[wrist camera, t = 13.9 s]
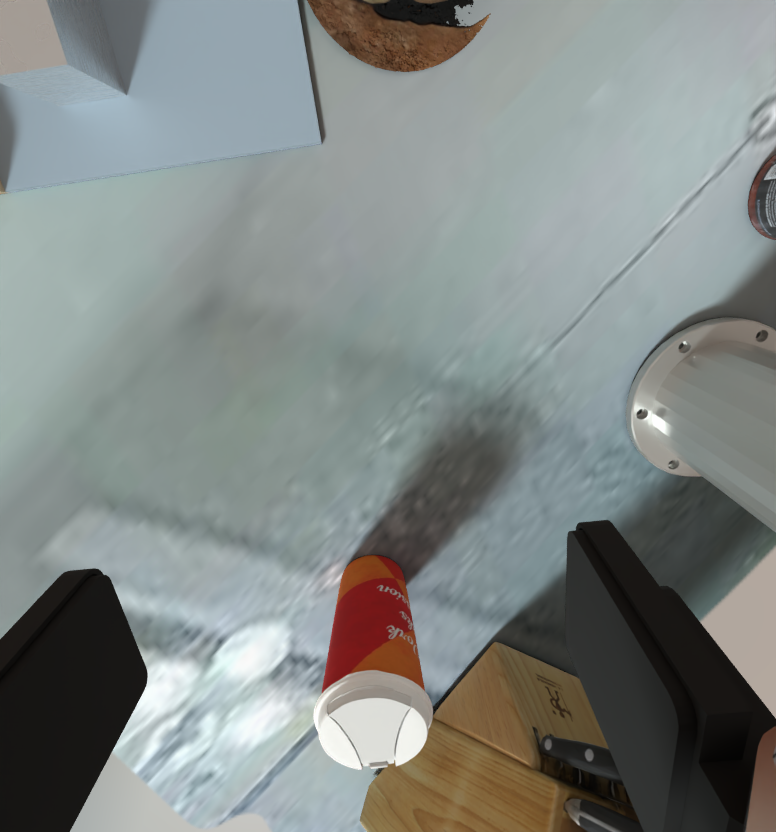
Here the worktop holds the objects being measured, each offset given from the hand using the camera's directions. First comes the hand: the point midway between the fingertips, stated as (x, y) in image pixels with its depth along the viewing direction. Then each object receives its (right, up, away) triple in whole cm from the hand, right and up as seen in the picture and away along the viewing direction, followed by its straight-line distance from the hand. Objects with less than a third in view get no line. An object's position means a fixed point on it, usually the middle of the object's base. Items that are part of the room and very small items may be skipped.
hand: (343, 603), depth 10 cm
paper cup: (-1, -11, +33) cm, 35 cm away
